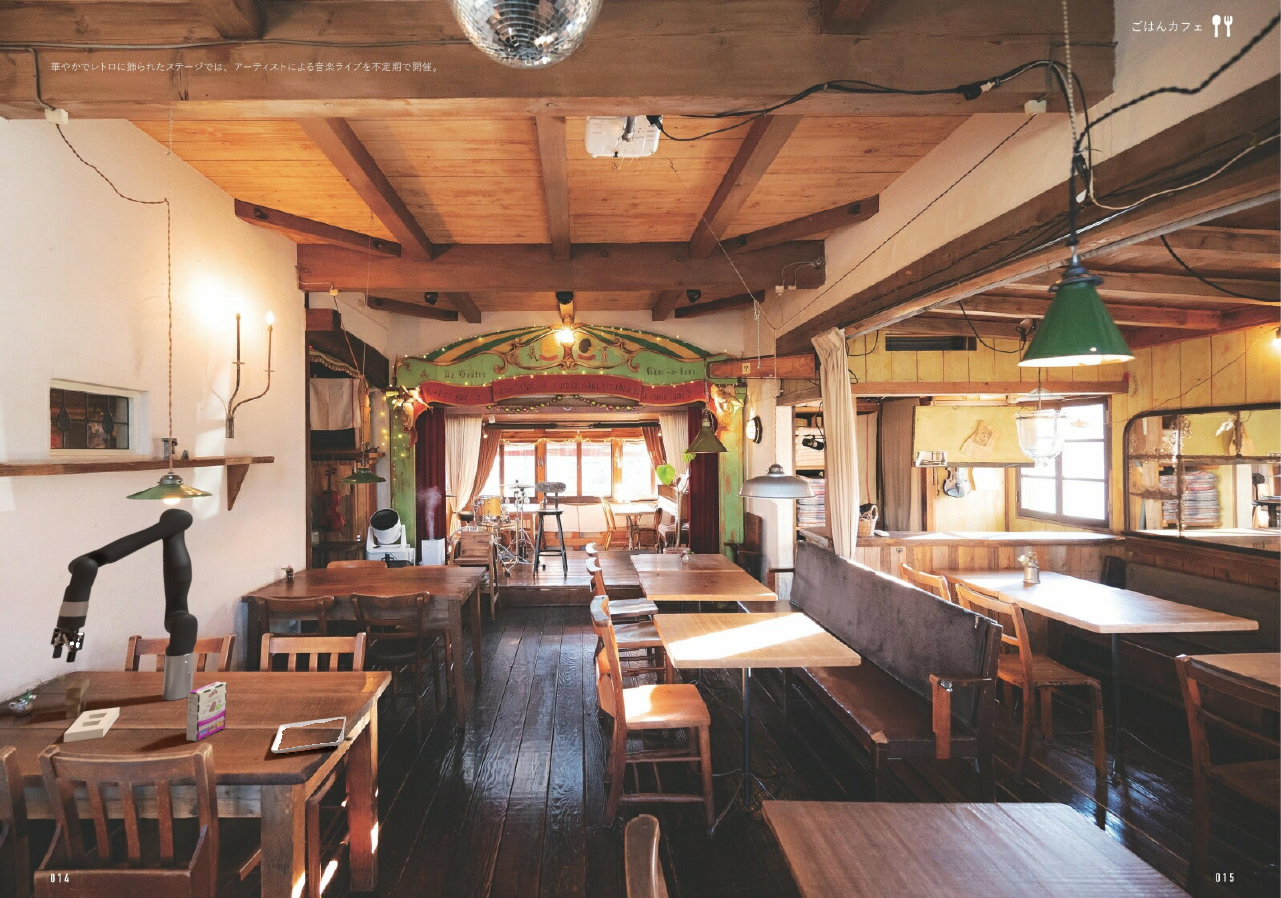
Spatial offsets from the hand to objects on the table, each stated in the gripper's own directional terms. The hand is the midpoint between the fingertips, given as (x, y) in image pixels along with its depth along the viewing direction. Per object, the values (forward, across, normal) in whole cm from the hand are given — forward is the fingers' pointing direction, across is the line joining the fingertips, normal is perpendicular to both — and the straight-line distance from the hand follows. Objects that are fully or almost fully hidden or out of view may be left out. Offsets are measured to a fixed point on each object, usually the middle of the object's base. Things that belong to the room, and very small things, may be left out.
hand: (63, 660), depth 215 cm
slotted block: (+22, -14, -6) cm, 27 cm away
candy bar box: (+19, -53, -19) cm, 59 cm away
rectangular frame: (+17, -89, -30) cm, 95 cm away
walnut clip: (+22, +5, -10) cm, 25 cm away
